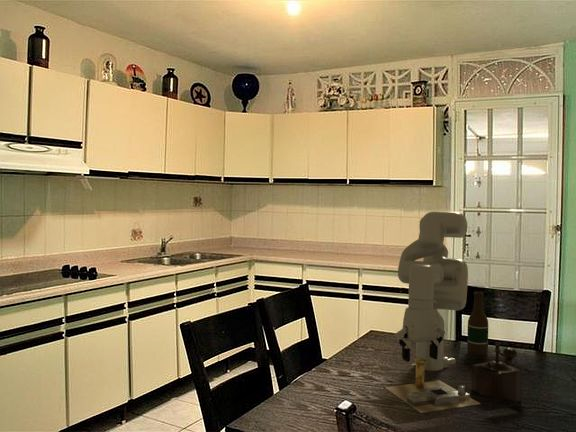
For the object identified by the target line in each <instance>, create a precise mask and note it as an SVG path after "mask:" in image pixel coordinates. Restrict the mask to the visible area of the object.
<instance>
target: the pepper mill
mask: <svg viewBox="0 0 576 432" xmlns="http://www.w3.org/2000/svg"><path fill="white" fill-rule="evenodd" d="M494 347H495V348H494V351H495V359H494V360H489V361H486V362H483V363H476V364H472V366H471V367H472V368H471V391H472V392H473V391H474V392H475V393H477V394H478V395H482V396H484V397H486V398H488V399H490V400H492V401H495V402H502V401H506V400H507V401H508V400H509V401H511V402H513V404H514V403H519V402H521V401H522V384H523V382H522V381H523V370H520V369H518V368H516V367H513V365H514V363H515V361H514V359H516V358H517V357H518V352H517V350H516V349H514V348H513V347H506V348H504V349H503V351H501V349H500V347H501V345H500V344H499V343H496V344H495V346H494ZM500 356H502V357H504V359H503V360H502V361H500V359H499V358H500Z"/></svg>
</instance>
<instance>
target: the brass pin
mask: <svg viewBox="0 0 576 432" xmlns="http://www.w3.org/2000/svg"><path fill="white" fill-rule="evenodd" d="M414 363H416V365H415V383H416V389H419V390H420V389H422V388H424V382H425V370H424V364H425V363H426V359H423V358H416V357H415V358H414Z"/></svg>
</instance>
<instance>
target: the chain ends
mask: <svg viewBox="0 0 576 432" xmlns="http://www.w3.org/2000/svg"><path fill="white" fill-rule="evenodd" d="M457 390H458V391H453V392H452V391H451V390H449V389H447V388H445V387H444V386H437V387H430V388H422V389H420V392H412V393H409V394H407V402H408V403H410V404H411V405H413V406H414V407H415V406H422V405H429V404H431V405H433V406H434V407H440V406H447V405H454V404H459V400H464V399H470V398H471V394H470V393H468V392H467V387H466V386H465V385H458V386H457ZM408 403H407V404H408Z"/></svg>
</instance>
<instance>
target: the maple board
mask: <svg viewBox="0 0 576 432" xmlns="http://www.w3.org/2000/svg"><path fill="white" fill-rule="evenodd" d="M437 386H444V387H445V388H447V389H449V390H451V391H452V392H453V391H458V389H456V388H454V387H452V386H451V385H448V384H446V383H445V382H443V381H441V380H440V379H439V380H432V381H430V380H429V381H424V388H430V387H437ZM385 389H387V390H388V391H389V392H390V393H392V394H394V395H395V396H396V397H398V398H399V399H400V400H402V401H403V402H405V403H406V404H408V405H410V406H411V408H413V409H415V410H416V411H418V412H419V413H420V414H423V413H424V414H425V413H428V412H429V413H430V412H436V411H437V412H438V411H444V410H448V409H456V408H457V409H458V408H462V407H470V406H471V407H472V406H475V405H476V406H477V405H481V404H482V403H481V402H479V401H477V400H475V399H474V398H472V397H470V399H464V400H459V404H454V405H447V406H440V407H434V406H433V405H431V404H429V405H422V406H415V407H414V406H413V405H411V404H410V403H408V402H407V394H409V393H412V392H420V390H419V389H416V382H415V383H409V384H400V385H393V386H392V385H391V386H385Z"/></svg>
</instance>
